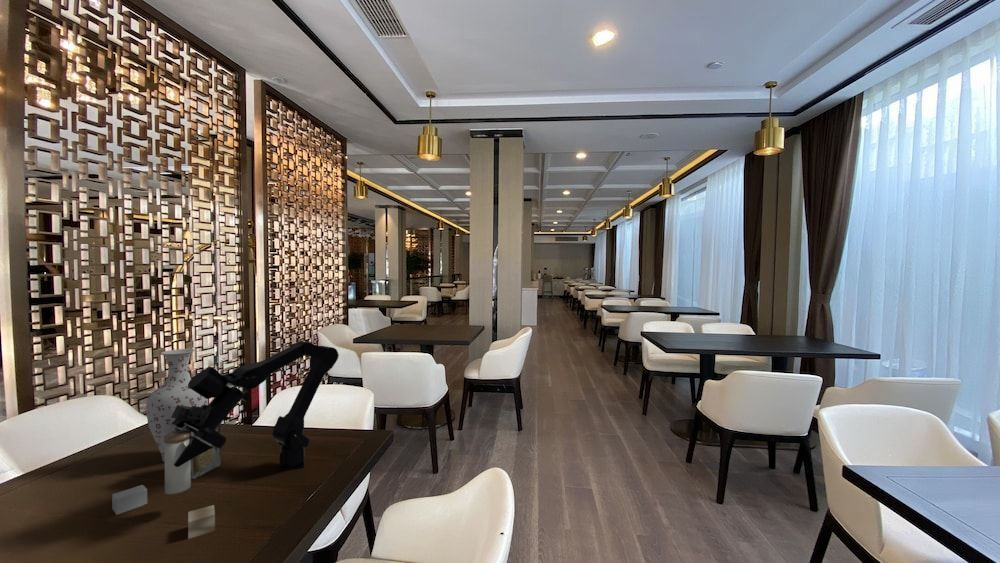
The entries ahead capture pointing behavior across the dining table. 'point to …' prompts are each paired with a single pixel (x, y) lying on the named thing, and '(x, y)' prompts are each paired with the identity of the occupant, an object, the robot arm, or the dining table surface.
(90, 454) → the dining table surface
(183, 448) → the ceramic jar
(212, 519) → the birch block
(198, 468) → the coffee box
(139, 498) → the grey block
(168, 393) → the vase
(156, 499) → the dining table surface
